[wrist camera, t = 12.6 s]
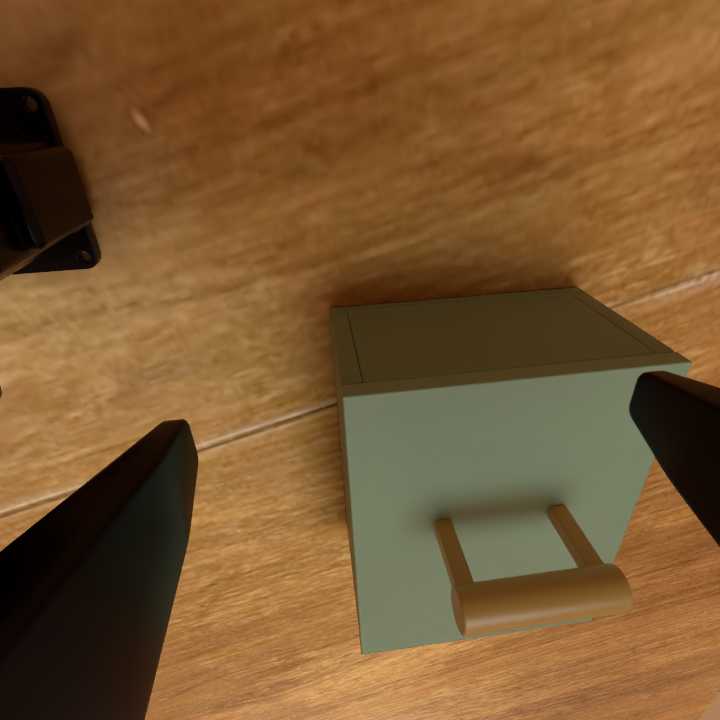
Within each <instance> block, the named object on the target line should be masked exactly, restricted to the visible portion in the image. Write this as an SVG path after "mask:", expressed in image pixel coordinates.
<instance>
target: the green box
mask: <svg viewBox="0 0 720 720" xmlns="http://www.w3.org/2000/svg"><path fill="white" fill-rule="evenodd" d="M330 322H331V334H332V347H333V359H334V371H335V383H336V395H337V407H338V419H339V431H340V443H341V456H342V468H343V480H344V492H345V504H346V516H347V528H348V537H349V545H350V554H351V563H352V572H353V581H354V589H355V598H356V607H357V594H356V581H355V568H354V555H353V541H352V528H351V515H350V502H349V489H348V475H347V462H346V449H345V436H344V423H343V409H342V396H341V386H342V385H350V384H360V383H370V382H380V381H390V380H400V379H410V378H420V377H430V376H440V375H450V374H460V373H470V372H480V371H490V370H500V369H510V368H520V367H530V366H540V365H550V364H560V363H570V362H580V361H590V360H600V359H610V358H621V357H631V356H641V355H651V354H661V353H671V352H674V351H673V350H672V349H671V348H669V347H668V346H666V345H665V344H663V343H662V342H660V341H659V340H657V339H656V338H654V337H653V336H651V335H649V334H648V333H646V332H645V331H643V330H642V329H640V328H639V327H637V326H636V325H634V324H633V323H631V322H630V321H628V320H627V319H625V318H623V317H622V316H620V315H619V314H617V313H616V312H614V311H613V310H611V309H610V308H608V307H607V306H605V305H604V304H602V303H601V302H599V301H597V300H596V299H594V298H593V297H591V296H590V295H588V294H587V293H585V292H584V291H582V290H581V289H579V288H578V287H574V288H562V289H550V290H538V291H527V292H515V293H503V294H492V295H480V296H468V297H456V298H445V299H433V300H421V301H410V302H398V303H386V304H374V305H363V306H351V307H339V308H330ZM357 616H358V608H357ZM358 625H359V621H358Z"/></svg>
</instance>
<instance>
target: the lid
mask: <svg viewBox="0 0 720 720" xmlns="http://www.w3.org/2000/svg"><path fill="white" fill-rule="evenodd" d="M690 366H691V361H690V360H688V359H687V358H685V357H684V356H682V355H680V354H679V353H677V352H671V353H661V354H651V355H641V356H631V357H621V358H610V359H600V360H590V361H580V362H570V363H560V364H550V365H540V366H530V367H520V368H510V369H500V370H490V371H480V372H470V373H460V374H450V375H440V376H430V377H420V378H410V379H400V380H390V381H380V382H370V383H360V384H350V385H342V386H341V396H342V409H343V423H344V436H345V449H346V462H347V475H348V489H349V502H350V515H351V528H352V541H353V555H354V568H355V581H356V594H357V608H358V621H359V634H360V645H361V653H362V655H364V654H371V653H378V652H384V651H391V650H398V649H404V648H411V647H418V646H424V645H431V644H438V643H444V642H451V641H458V640H465V639H471V638H478V637H485V636H491V635H498V634H505V633H511V632H518V631H525V630H531V629H538V628H545V627H551V626H558V625H565V624H571V623H578V622H585V621H590V620H591V619H592V618H593V617H600V616H607V615H613V614H620V613H627V612H629V611H630V610H631V609H632V606H633V596H632V591H631V588H630V585H629V583H628V581H627V579H626V577H625V575H624V574H623V573H622V571H621V570H620V569H619V568H618V567H617V566H615V565H613V563H614V560H615V558H616V555H617V552H618V550H619V547H620V545H621V542H622V540H623V537H624V535H625V532H626V529H627V527H628V524H629V522H630V519H631V517H632V514H633V512H634V509H635V506H636V504H637V501H638V499H639V496H640V494H641V491H642V489H643V486H644V483H645V481H646V478H647V476H648V473H649V471H650V468H651V466H652V463H653V460H654V458H655V456H654V454H653V453H652V451H651V449H650V448H649V446H648V444H647V443H646V441H645V440H644V438H643V436H642V435H641V433H640V431H639V430H638V428H637V426H636V425H635V423H634V422H633V420H632V418H631V416H630V413H629V404H630V400H631V397H632V394H633V391H634V388H635V385H636V382H637V379H638V377H639V376H640V375H641V374H642V373H644V372H651V371H660V370H661V371H667V372H670V373H674V374H677V375H680V376H683V377H686V376H687V374H688V371H689V368H690Z"/></svg>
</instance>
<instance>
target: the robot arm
mask: <svg viewBox="0 0 720 720" xmlns="http://www.w3.org/2000/svg"><path fill="white" fill-rule="evenodd" d="M29 96H31V97H32V98H33V99H34V100H35V102H36V103H37V109H36V111H33V110H31V109H30V108H29V106H28V105H27V98H28V97H29ZM92 219H93V214H92V211H91V208H90V205H89V202H88V199H87V196H86V193H85V190H84V187H83V184H82V181H81V178H80V175H79V172H78V169H77V166H76V163H75V160H74V157H73V154H72V152H71V151H69V150H68V149H67V148H66V147H65V146H64V145H63V142H62V139H61V136H60V133H59V130H58V127H57V124H56V121H55V118H54V116H53V113H52V110H51V107H50V104H49V102H48V100H47V98H46V96H45V95H44V94H43V93H42V92H40V91H39V90H37V89H35V88H29V87H14V88H0V281H1V280H3V279H4V278H6V277H8V276H9V275H11V274H23V273H37V272H50V271H64V270H77V269H89V268H92V267H94V266H95V265H96V264H98V263H99V262H100V259H101V254H100V251H99V248H98V245H97V242H96V239H95V236H94V233H93V230H92V227H91V224H90V222H91V221H92ZM81 251H86V252H87V253H89V255H90V256H91V260H87V259H85V258H84V257H83V256H82V253H81ZM1 395H2V391H1V387H0V398H1ZM629 413H630V416H631V418H632V420H633V422H634V423H635V425H636V426H637V428H638V430H639V431H640V433H641V435H642V436H643V438H644V440H645V441H646V443H647V444H648V446H649V448H650V449H651V451H652V453H653V454H654V456H655V458H656V459H657V461H658V462H659V464H660V466H661V467H662V469H663V471H664V472H665V474H666V475H667V477H668V478H669V480H670V481H671V483H672V484H673V485H674V487H675V488H676V490H677V491H678V492H679V494H680V495H681V496H682V498H683V499H684V500H685V502H686V503H687V504H688V506H689V507H690V508H691V510H692V511H693V512H694V513H695V515H696V516H697V517H698V519H699V520H700V521H701V523H702V524H703V525H704V527H705V528H706V529H707V531H708V532H709V533H710V535H711V536H712V537H713V539H714V540H715V541H716V543H717V544H718V545H719V547H720V388H718V387H715V386H712V385H709V384H705V383H702V382H699V381H696V380H693V379H690V378H686V377H683V376H680V375H677V374H674V373H670V372H667V371H661V370H660V371H651V372H644V373H642V374H641V375H640V376H639V377H638V379H637V382H636V385H635V388H634V391H633V394H632V397H631V400H630V404H629ZM197 469H198V454H197V450H196V447H195V443H194V440H193V436H192V433H191V430H190V426H189V424H188V422H187V421H186V420H184V419H180V420H170V421H164V422H162V423H160V424H159V425H158V426H156V427H155V428H154V429H153V430H151V431H150V432H149V433H148V434H146V435H145V436H144V437H143V438H141V439H140V440H139V441H138V442H137V443H135V444H134V445H133V446H132V447H130V448H129V449H128V450H127V451H125V452H124V453H123V454H122V455H120V456H119V457H118V458H117V459H115V460H114V461H113V462H112V463H110V464H109V465H108V466H107V467H105V468H104V469H103V470H102V471H100V472H99V473H98V474H97V475H95V476H94V477H93V478H92V479H90V480H89V481H88V482H87V483H85V484H84V485H83V486H82V487H80V488H79V489H78V490H77V491H75V492H74V493H73V494H72V495H70V496H69V497H68V498H67V499H65V500H64V501H63V502H62V503H60V504H59V505H58V506H57V507H56V508H54V509H53V510H52V511H51V512H49V513H48V514H47V515H46V516H44V517H43V518H42V519H41V520H39V521H38V522H37V523H36V524H34V525H33V526H32V527H31V528H29V529H28V530H27V531H26V532H24V533H23V534H22V535H21V536H19V537H18V538H17V539H16V540H14V541H13V542H12V543H11V544H9V545H8V546H7V547H6V548H4V549H3V550H2V551H1V552H0V720H145V716H146V712H147V708H148V704H149V700H150V696H151V692H152V688H153V684H154V680H155V676H156V671H157V667H158V663H159V659H160V655H161V651H162V647H163V643H164V639H165V635H166V631H167V627H168V623H169V619H170V615H171V610H172V606H173V602H174V598H175V594H176V590H177V586H178V582H179V578H180V574H181V570H182V566H183V562H184V558H185V554H186V549H187V545H188V540H189V534H190V527H191V519H192V511H193V502H194V494H195V486H196V478H197Z"/></svg>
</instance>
